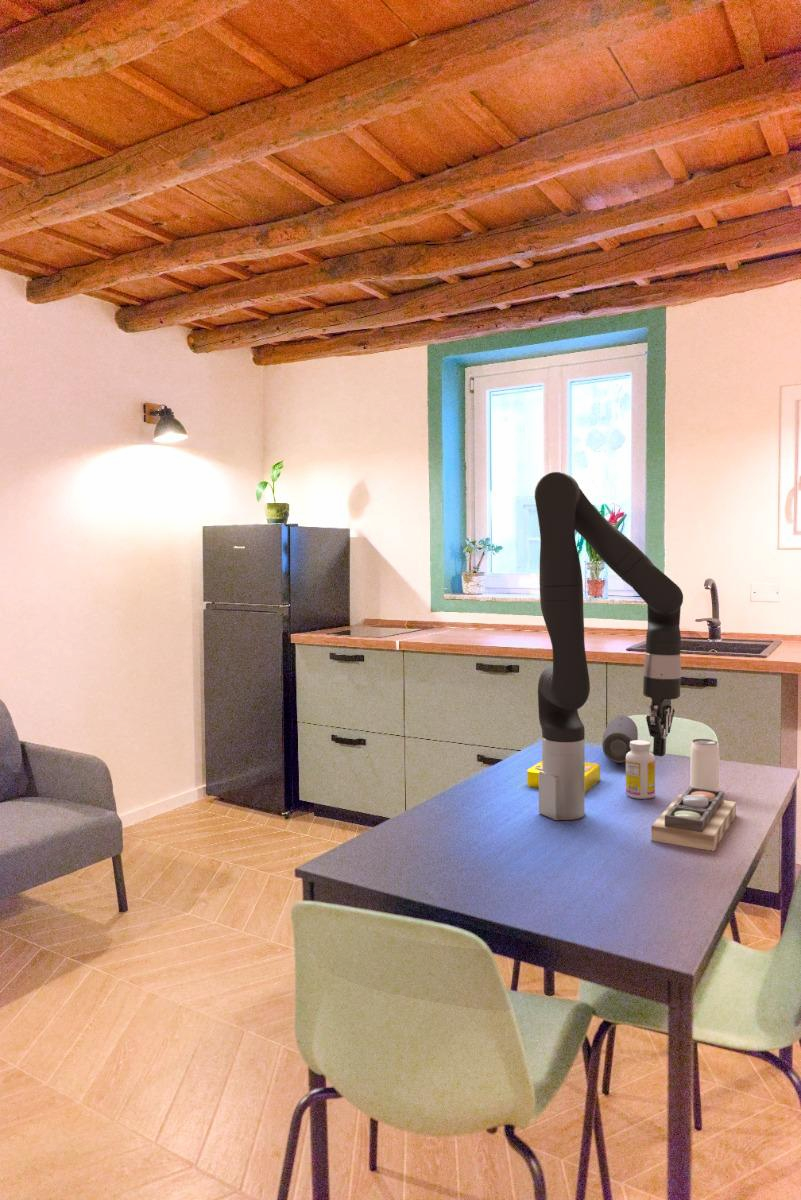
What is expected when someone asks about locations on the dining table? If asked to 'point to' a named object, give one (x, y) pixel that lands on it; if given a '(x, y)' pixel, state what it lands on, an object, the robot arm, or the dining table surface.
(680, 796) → the button panel
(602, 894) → the dining table surface
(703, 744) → the can
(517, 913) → the dining table surface
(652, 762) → the supplement bottle
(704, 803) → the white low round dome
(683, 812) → the button sage
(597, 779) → the element tile
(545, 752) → the robot arm
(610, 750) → the bluetooth speaker
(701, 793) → the button terracotta
